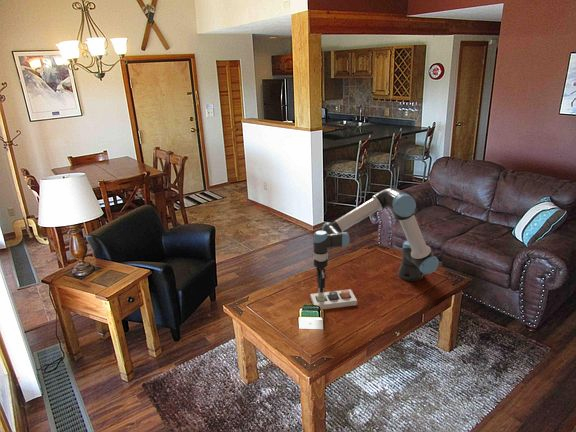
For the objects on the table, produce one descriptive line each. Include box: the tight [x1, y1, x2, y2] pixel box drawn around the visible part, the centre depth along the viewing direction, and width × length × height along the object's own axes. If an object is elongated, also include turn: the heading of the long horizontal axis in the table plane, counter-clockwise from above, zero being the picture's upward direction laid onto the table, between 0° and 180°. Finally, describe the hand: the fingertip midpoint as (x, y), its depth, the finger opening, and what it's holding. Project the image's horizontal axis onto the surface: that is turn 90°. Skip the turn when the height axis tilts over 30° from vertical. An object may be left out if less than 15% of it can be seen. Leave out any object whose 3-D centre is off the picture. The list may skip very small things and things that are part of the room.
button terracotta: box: [341, 289, 350, 299], centre depth 227 cm, size 5×5×3 cm
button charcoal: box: [328, 290, 338, 301], centre depth 227 cm, size 5×5×3 cm
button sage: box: [317, 295, 326, 302], centre depth 226 cm, size 5×5×3 cm
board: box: [310, 288, 358, 310], centre depth 227 cm, size 24×12×3 cm, turn 99°
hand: (321, 296), depth 225 cm, fingers closed
